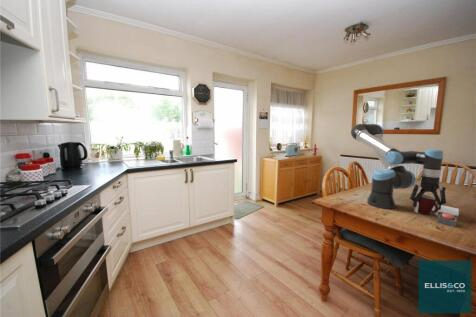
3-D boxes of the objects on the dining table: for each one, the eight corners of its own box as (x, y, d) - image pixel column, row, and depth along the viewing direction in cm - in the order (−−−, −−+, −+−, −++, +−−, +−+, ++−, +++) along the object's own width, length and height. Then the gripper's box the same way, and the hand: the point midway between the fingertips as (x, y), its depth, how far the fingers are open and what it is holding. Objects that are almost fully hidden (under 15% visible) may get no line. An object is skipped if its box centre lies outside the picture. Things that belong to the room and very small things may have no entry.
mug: (440, 216, 117) (445, 200, 116) (432, 218, 114) (437, 201, 112) (418, 209, 127) (422, 194, 125) (411, 210, 124) (415, 194, 122)
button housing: (455, 227, 104) (456, 221, 103) (437, 222, 109) (438, 217, 109) (456, 223, 108) (456, 217, 108) (438, 219, 113) (439, 213, 113)
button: (453, 221, 105) (453, 216, 105) (441, 218, 109) (441, 214, 108) (453, 219, 108) (454, 214, 108) (441, 216, 111) (442, 212, 111)
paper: (458, 216, 117) (458, 215, 117) (430, 210, 126) (430, 209, 126) (458, 209, 128) (459, 208, 128) (432, 204, 137) (432, 203, 137)
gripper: (410, 175, 118) (405, 212, 121) (459, 179, 110) (453, 219, 113) (405, 173, 125) (401, 208, 128) (451, 176, 117) (445, 214, 120)
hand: (425, 213), depth 120 cm, fingers open, 8 cm apart
